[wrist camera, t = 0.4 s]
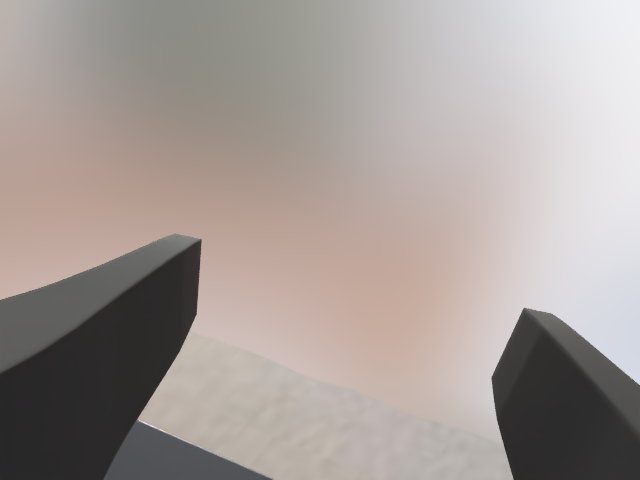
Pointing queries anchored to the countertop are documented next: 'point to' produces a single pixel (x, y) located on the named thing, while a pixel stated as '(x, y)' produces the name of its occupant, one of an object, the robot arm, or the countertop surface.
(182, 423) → the countertop surface
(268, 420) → the countertop surface
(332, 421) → the countertop surface
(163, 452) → the dark grey drawer cabinet
